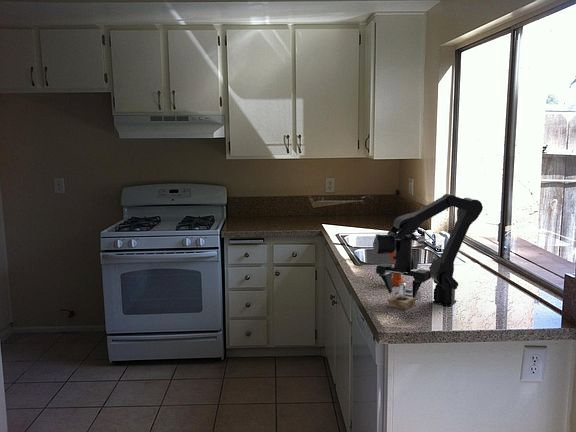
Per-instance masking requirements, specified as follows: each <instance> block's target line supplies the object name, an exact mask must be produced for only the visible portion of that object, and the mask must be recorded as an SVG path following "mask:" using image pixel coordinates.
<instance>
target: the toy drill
mask: <svg viewBox="0 0 576 432" xmlns="http://www.w3.org/2000/svg"><path fill="white" fill-rule="evenodd" d="M388 255H389V257H390V258H391V261H392V262H393V267H395V259H393V256H395V251H394V252H393V253H389V254H388ZM399 272H400V271H399ZM399 283H405V282H404V280H403V278H402V274H396V273H393V275H392V286H394V287H399Z"/></svg>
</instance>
